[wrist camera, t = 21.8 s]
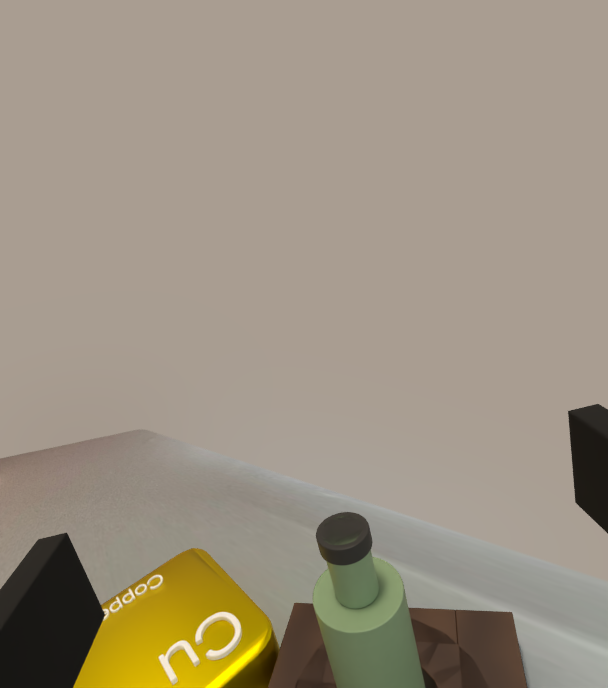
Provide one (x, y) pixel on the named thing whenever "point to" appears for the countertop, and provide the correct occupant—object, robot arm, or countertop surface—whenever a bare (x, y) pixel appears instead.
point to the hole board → (432, 645)
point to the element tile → (182, 632)
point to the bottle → (363, 610)
